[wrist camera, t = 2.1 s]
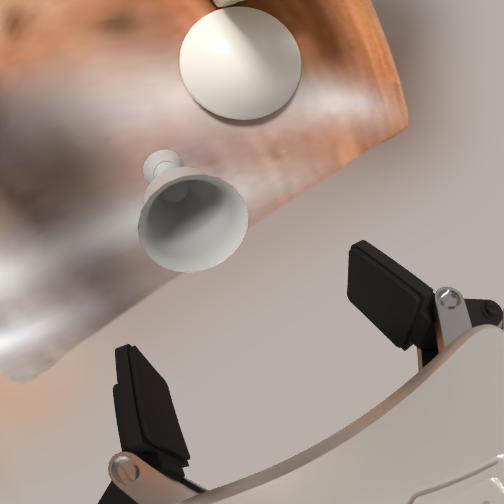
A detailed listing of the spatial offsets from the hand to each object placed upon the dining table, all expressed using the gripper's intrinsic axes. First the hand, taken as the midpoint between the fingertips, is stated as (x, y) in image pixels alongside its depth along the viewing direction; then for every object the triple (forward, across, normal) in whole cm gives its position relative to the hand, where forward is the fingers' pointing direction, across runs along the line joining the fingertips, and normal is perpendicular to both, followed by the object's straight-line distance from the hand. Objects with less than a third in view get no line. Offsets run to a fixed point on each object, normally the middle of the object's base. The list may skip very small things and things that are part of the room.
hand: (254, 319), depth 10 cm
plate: (+27, -13, -11) cm, 32 cm away
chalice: (+27, 0, 0) cm, 27 cm away
